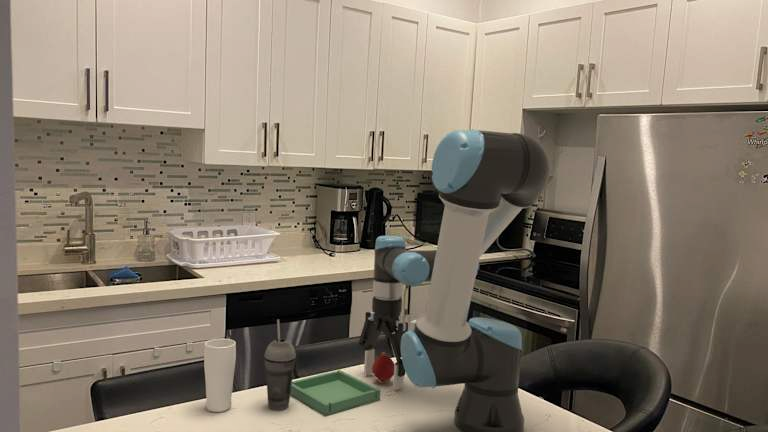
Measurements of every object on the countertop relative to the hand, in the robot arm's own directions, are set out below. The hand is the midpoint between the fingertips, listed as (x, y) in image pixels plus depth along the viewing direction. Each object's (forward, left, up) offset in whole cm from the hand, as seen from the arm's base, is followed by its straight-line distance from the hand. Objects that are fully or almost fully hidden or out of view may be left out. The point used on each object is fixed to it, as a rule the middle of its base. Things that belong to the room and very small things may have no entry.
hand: (383, 380), depth 155 cm
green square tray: (0, +16, 0) cm, 16 cm away
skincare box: (+6, -19, -1) cm, 20 cm away
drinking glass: (+9, +41, -1) cm, 42 cm away
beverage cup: (+2, +30, -1) cm, 30 cm away
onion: (0, 0, -1) cm, 1 cm away
